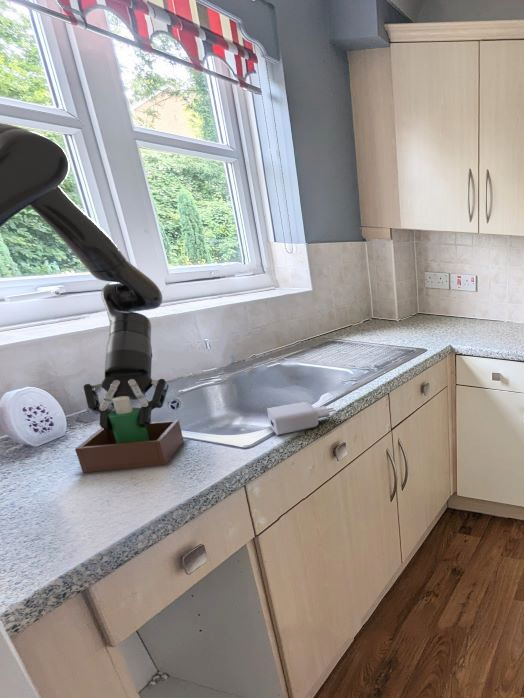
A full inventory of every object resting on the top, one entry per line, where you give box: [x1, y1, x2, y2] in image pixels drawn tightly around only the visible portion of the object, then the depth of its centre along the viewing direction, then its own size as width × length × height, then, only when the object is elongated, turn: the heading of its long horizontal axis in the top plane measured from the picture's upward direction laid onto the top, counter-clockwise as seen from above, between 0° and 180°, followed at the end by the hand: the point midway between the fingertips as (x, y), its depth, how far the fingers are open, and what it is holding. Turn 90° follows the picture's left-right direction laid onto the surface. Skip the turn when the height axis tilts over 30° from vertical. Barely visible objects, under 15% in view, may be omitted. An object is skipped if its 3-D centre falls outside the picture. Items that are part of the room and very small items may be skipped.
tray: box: [74, 419, 185, 474], centre depth 96 cm, size 14×12×5 cm
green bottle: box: [108, 396, 150, 444], centre depth 95 cm, size 5×5×11 cm
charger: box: [266, 401, 336, 436], centre depth 116 cm, size 5×9×15 cm
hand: (125, 427), depth 93 cm, fingers closed on green bottle, 5 cm apart
